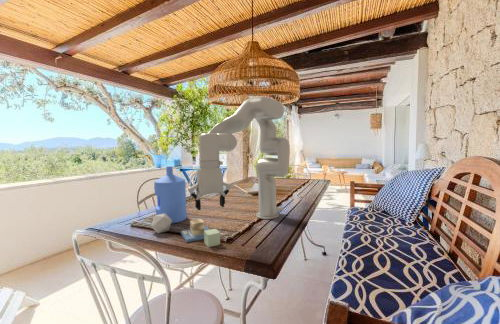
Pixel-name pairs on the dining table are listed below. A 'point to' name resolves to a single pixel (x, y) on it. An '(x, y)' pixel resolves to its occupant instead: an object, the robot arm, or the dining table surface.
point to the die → (161, 223)
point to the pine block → (197, 226)
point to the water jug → (171, 196)
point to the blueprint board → (189, 237)
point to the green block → (212, 237)
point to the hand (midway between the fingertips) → (210, 207)
